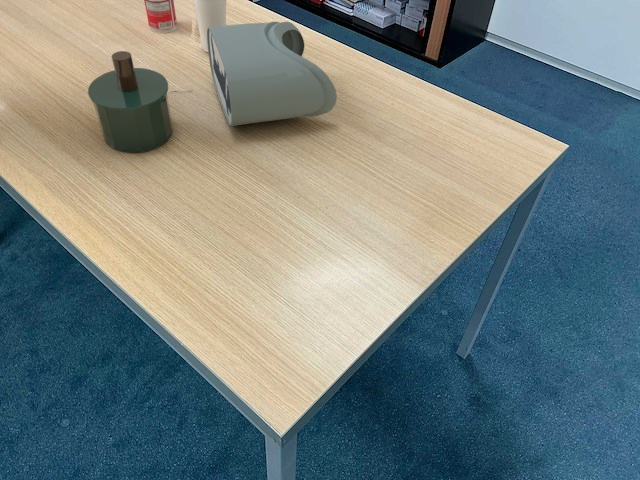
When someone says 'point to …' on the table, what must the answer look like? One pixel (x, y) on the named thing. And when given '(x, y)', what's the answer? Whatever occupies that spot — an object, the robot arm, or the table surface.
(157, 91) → the lid
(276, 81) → the gray curved housing
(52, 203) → the table surface
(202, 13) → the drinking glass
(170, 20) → the pill bottle
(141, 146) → the pot
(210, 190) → the table surface
